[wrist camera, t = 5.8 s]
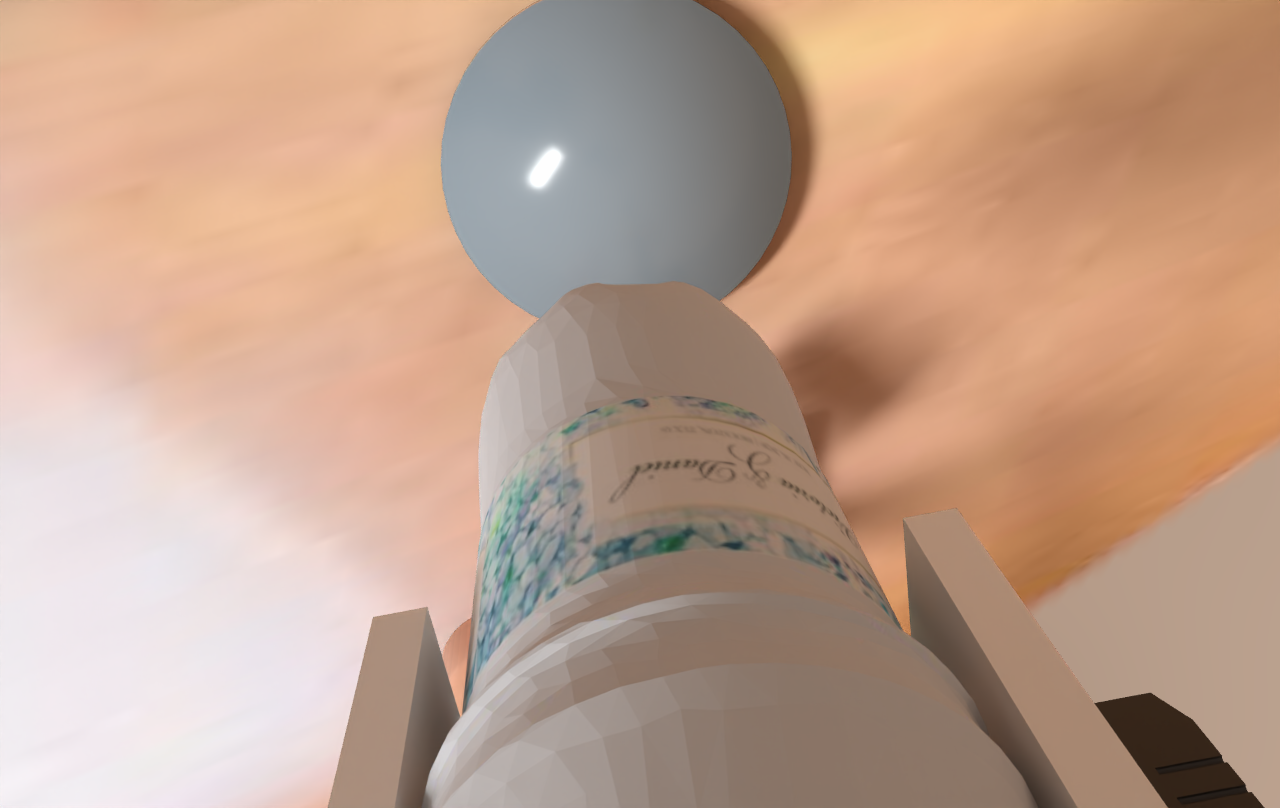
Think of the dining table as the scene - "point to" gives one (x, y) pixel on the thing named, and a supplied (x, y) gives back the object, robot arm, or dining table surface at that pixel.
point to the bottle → (684, 591)
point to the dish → (615, 151)
